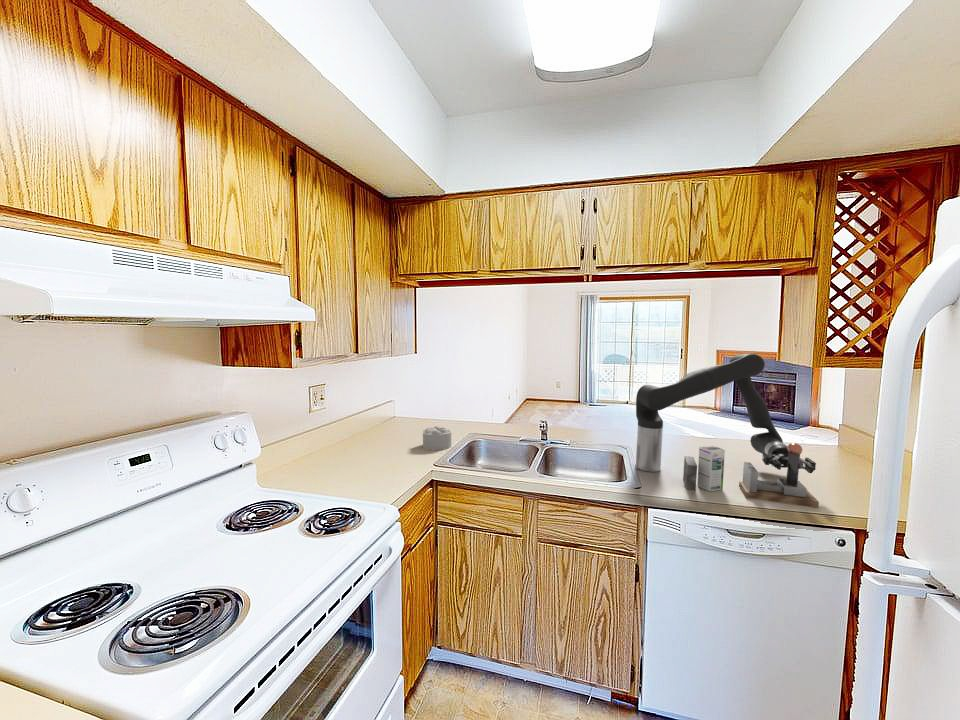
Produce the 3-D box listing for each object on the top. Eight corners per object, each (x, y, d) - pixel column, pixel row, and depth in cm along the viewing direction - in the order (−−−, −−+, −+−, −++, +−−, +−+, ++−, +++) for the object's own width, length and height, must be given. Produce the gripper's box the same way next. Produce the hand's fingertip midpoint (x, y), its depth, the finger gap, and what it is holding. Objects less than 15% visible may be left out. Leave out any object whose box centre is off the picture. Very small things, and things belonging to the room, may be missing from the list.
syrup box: (709, 491, 144) (712, 451, 142) (696, 485, 150) (699, 446, 148) (722, 490, 145) (725, 449, 144) (709, 483, 151) (712, 444, 150)
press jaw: (749, 491, 139) (753, 442, 137) (742, 480, 148) (745, 435, 146) (807, 499, 133) (812, 448, 132) (796, 487, 142) (800, 440, 141)
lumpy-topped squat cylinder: (423, 443, 197) (423, 425, 196) (451, 443, 198) (451, 425, 197) (422, 450, 186) (422, 431, 185) (451, 450, 187) (451, 431, 186)
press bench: (686, 489, 146) (687, 464, 145) (683, 479, 155) (684, 455, 154) (818, 507, 132) (821, 480, 131) (806, 495, 142) (808, 469, 141)
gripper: (757, 441, 153) (770, 454, 138) (803, 446, 149) (822, 460, 133) (755, 461, 154) (768, 476, 139) (802, 466, 149) (820, 482, 134)
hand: (795, 468), depth 136 cm, fingers open, 8 cm apart
